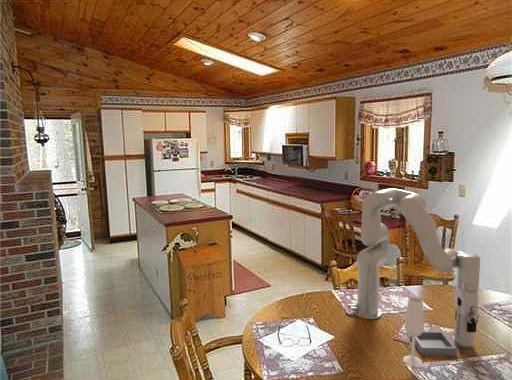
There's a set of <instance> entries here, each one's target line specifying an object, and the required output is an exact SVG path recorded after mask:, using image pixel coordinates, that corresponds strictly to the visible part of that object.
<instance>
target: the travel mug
mask: <svg viewBox="0 0 512 380" xmlns="http://www.w3.org/2000/svg"><path fill="white" fill-rule="evenodd" d="M456 311H457V315H456V320H455V330H454V331H455V333H454V334H455V335H454V345H456V346H458V347H459V348H463V349H471V348H473V345H474V344H473V342H474V332H467V322H468V318H467V316H464V315H463V314H461V300H460V299H459V297H458V302H457V310H456ZM470 314H473V313H470ZM470 318H471V319H472V318H473V317H470Z"/></svg>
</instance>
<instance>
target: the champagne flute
mask: <svg viewBox="0 0 512 380" xmlns="http://www.w3.org/2000/svg"><path fill="white" fill-rule="evenodd" d="M424 319H425V318H424V300H423V299H422V298H420V297H417V296H411V297H409V298H408V301H407V307H406V315H405V322H404V329H405V331H406V333H407V334H408V335H409V336H410V335H411V336H412V340H411V351H410V352H411V353H410V355H405V356H403V358H402V360H403V362H404V363H405V364H407V365H408V366H413V367H420V366H422V365H423V361H422V360H421V359H420V357H417V356H415V354H416V353H415V352H416V346H415V337H417V336H419V335H421V334H422V333H423V332H424V331H425V322H424Z"/></svg>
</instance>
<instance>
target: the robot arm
mask: <svg viewBox="0 0 512 380" xmlns="http://www.w3.org/2000/svg"><path fill="white" fill-rule="evenodd" d="M426 207H427V202H426V199H425V197H424V196H423V195H421V194H419V193H415V192H412V191H407V190H403V189H399V188H395V187H394V188H393V187H391V188H385V189H380V190H376V191H374V192H372V193H369V194H368V195H366V197H365V198H364V200H363V202H362V208H361V226H360V229H361V230H360V240H361V242H362V244H363V245H364V246H366V248H364V249H362V250H361V251H360V252H359V253H358V254H357V256H356V266H357V301H355V303H347V305H346V308H347V309H350V311H353V313H354V315H355V316H356V317H358V318H361V319H365V320H376V319H379V318H381V317H382V311H381V310H380V309H379V301H380V300H379V299H380V296H379V295H380V273H379V269H378V268H379V266H381V265H382V264H384V263H385V262H386V261H387V260H388V257H389V250H390V249H389V246H390V245H389V244H390V231H389V229H388V227H387V226H386V225H385V224H384V223H382V214H381V211H382V210H386V209H391V208H397V209H399V211H400V212H401V214H402V215H403V217H404V218H405V220H406V221H407V222H408V224H409V225H410V227H411V228H412V230H413V231H414V232H415V234H416V236H417V240H418V242H419V245H420V247H421V250H422V252H423V253H424V255H425V257H426V259H428V261H429V263H430V264H431V266H433V268H434V269H436V270H437V271H438V272H440V273H449V272H451V271H452V270H453V269H454V268H457V273H456V288H455V291H454V292H455V293H454V301H453V306H454V308H455V309H454V310H455V317H454V318H455V319H454V320H455V321H456V315H457V302H458V297H459V299H460V300H461V314H463V315H464V316H467V318H468V322H467V332H473V333H476V332H477V324H478V322H479V319H480V315H479V313H478V311H479V296H478V291H479V285H480V271H481V258H480V256H479V255H478V254H476V253H472V252H464V251H461V250H457V249H455V248H445V249H444V248H443V247H442V244H441V243H440V242H439V239H438V236H437V224H436V222H435V220H434V219H433V218H432V217H431V215H430V214H429V213H428V212H427V210H426ZM470 313H473V314H470ZM470 317H473V318H472V319H471V318H470Z"/></svg>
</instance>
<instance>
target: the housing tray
mask: <svg viewBox="0 0 512 380" xmlns="http://www.w3.org/2000/svg"><path fill="white" fill-rule="evenodd" d="M409 338H410V340H411V341H412V336H411V335H410V334H409ZM415 348H416V349H417V351H418V352H419V353H420V355H421V356H443V357H444V356H445V357H446V356H447V357H448V356H449V357H451V356H452V357H456V356H457V352H458V348H457V347H456V346H455V343H453V342H452V340H450V338H448V336H447V335H446V333H444V331H443V330H441V331H440V330H437V331H436V330H424V332H423V333H422V334H421V335H419V336H417V337H415Z"/></svg>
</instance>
